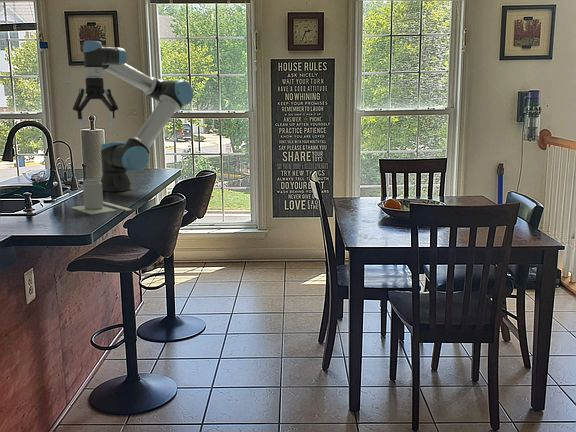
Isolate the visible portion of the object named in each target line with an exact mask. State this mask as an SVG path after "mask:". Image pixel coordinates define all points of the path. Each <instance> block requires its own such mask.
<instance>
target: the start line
mask: <svg viewBox="0 0 576 432" xmlns="http://www.w3.org/2000/svg"><path fill="white" fill-rule="evenodd" d="M103 206H108V207H110V208H111V207H112V208H114V209H115V208H116V209H118V210H122V211H125V212H130V211H132V210H133V209H131V208H128V207H125V206H121V205H118V204H115V203H114V204H113V203H110V202H108V201H107V202H106V201H103Z"/></svg>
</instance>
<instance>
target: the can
mask: <svg viewBox="0 0 576 432" xmlns="http://www.w3.org/2000/svg"><path fill="white" fill-rule="evenodd" d="M100 181H101V178H86V179H84V180H83V182H82V195H83V196H82V197H83V206H84V208H86V209H87V210H98V209H101V208H102V207H103V206H104V204H103V202H104V199H103V198H104V197H103V196H104V195H103V194H104V193H103V191H102V182H100Z"/></svg>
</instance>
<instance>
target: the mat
mask: <svg viewBox="0 0 576 432" xmlns="http://www.w3.org/2000/svg"><path fill="white" fill-rule="evenodd" d="M70 209H73V210H75V211H78V212H82V213H85V214H88V215H96V214H97V215H98V214H104V213H112V212H117V211H118V210H117V209H115V208H111V207H109V206H108V207H107V206H106V205H103V207H102V208H101V209H98V210H87V209H86V208H84V205H79V206H78V205H77V206H71V207H70Z"/></svg>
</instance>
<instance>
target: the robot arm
mask: <svg viewBox="0 0 576 432" xmlns="http://www.w3.org/2000/svg"><path fill="white" fill-rule="evenodd" d="M127 55H128V54H127V52H126V50H125V49H124V48H122V47H112V46H111V47H110V46H103V45H102V42H101V41H99V40H85V41H84V42H83V61H84V76H85V77H86V78H85V89H84V88H78V95H77V97H76V100H75V102H74V104H73V107H72V110H73V111H75V112H77V120H79V127H80V128H85V112H84V111H83V110H84V109H85V107H86V106H87V104H89V102H90V101H91V100H100V101H102V103H103V104H104V105H105V107H106V108H107V109H108V110H109V111H107V113H108V114H107V115H108V116H107V117H108V127H114V119H115V117H116V116H115V112H116V111H118V110H119V107H118V105H117V103H116V100H115V98H114V97H113V94H112V91H111V89H110V88H107V89H106V88H104V79H103V77H104V71H105V72H107V73H109V74H111V75H113V76H114V77H117V78H118V79H120V80H122V81H124V82H126V83H128V84H129V85H132V86H133V87H135V88H137V89H138V90H141V91H142V92H143V94H144V95H146V96H148V97H149V98H152V99H153V100H155V101H157V102H158V104H157V105H156V106H155V108H154V110H153V111H152V112H151V114H150V115H149V116H148V118H147V119H146V120H145V122H144V123H143V124H142V126H141V127H140V128H139V130H138V131H137V133H136V134H135V136H134V137H133V136H132V137H129V138H128V139H127V140H126V142H125V141H115V142H114V141H113V142H105V143H101V145H100V157H101V158H100V159H101V177H100V182H102V192H108V193H109V192H110V193H111V192H112V193H113V192H114V193H115V192H126V191H129V190H132V184H131V181H130V178H129V175H128V171H129V172H139V171H142V170H144V169H145V168H146V167H147V165H148V163H149V159H150V153H151V150H150V148H151V146H152V145H153V144H154V142H155V141H156V139H157V138H158V136H160V134H161V132H162V131H163V130H164V128H165V127H166V125H167V123H168V122H169V121H170V119H171V118H172V116H174V114H175V113H178V112H180V111H181V109H182V108H183V106H185V105H186V106H187V105H189V104H191V103H192V102H193V99H194V89H193V87H192V84H190V82H188V81H187V80H182V79H178V80H175V79H174V80H173V79H172V80H171V79H170V80H167V79H166V80H165V79H164V80H163V79H159V78H156V77H155V76H149V75H147V74H145V73H143V72H141V71H139V70H138V69H136V68H134V67H133V66H131V65H129V64H127V60H128V56H127ZM85 94H86V96H85ZM104 94H105V95H106V97H107V98H106V97H105V95H104ZM84 96H85V98H84ZM83 98H84V99H83ZM82 99H83V100H82Z"/></svg>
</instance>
